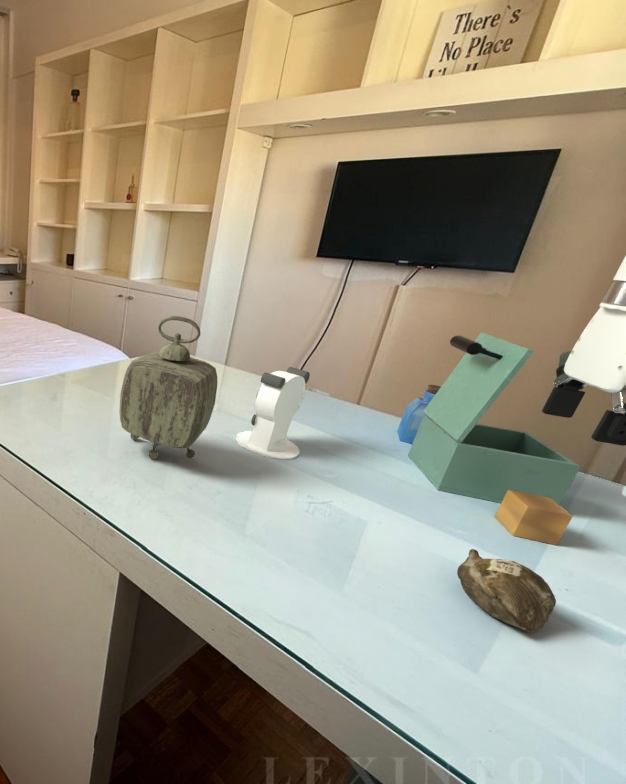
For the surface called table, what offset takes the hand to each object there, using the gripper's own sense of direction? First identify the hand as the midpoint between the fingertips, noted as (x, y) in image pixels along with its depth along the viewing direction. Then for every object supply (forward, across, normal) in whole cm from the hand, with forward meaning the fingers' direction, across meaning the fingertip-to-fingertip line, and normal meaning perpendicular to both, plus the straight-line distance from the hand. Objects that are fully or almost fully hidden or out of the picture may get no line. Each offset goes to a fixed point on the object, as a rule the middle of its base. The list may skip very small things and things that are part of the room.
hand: (580, 427), depth 61 cm
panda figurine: (+18, +14, +33) cm, 40 cm away
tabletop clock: (+18, -1, +54) cm, 56 cm away
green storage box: (+17, +16, 0) cm, 23 cm away
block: (+17, +1, 0) cm, 17 cm away
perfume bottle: (+17, +33, +2) cm, 37 cm away
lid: (0, +16, +5) cm, 16 cm away
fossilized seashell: (+18, -20, +12) cm, 30 cm away
